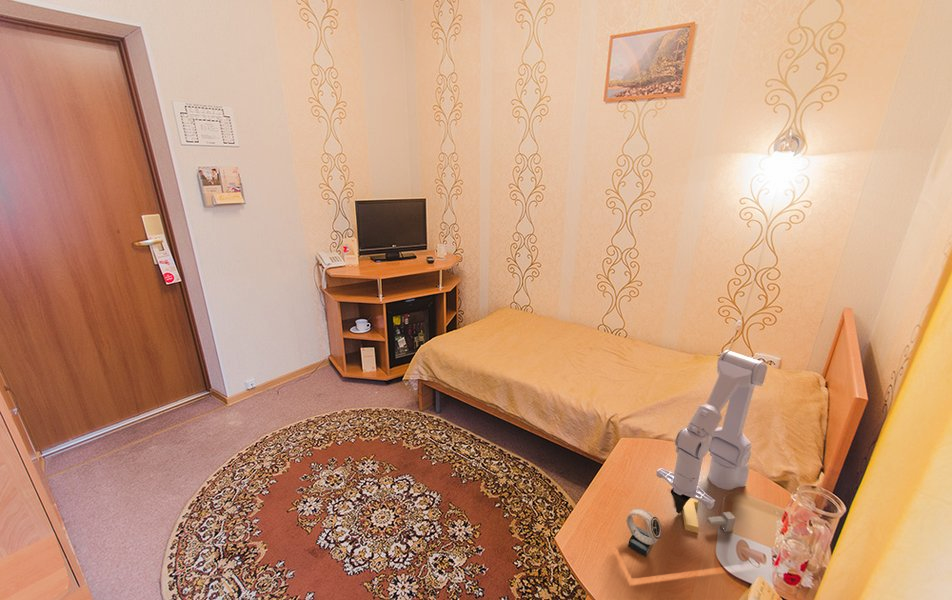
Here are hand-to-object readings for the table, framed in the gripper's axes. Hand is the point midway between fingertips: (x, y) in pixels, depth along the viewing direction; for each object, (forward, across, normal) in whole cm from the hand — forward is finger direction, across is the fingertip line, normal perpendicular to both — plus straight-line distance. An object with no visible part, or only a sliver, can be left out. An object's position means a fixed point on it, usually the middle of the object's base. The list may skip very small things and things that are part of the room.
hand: (679, 511), depth 106 cm
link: (+1, +1, +3) cm, 3 cm away
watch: (+3, -1, -16) cm, 17 cm away
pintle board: (+2, 0, +2) cm, 3 cm away
